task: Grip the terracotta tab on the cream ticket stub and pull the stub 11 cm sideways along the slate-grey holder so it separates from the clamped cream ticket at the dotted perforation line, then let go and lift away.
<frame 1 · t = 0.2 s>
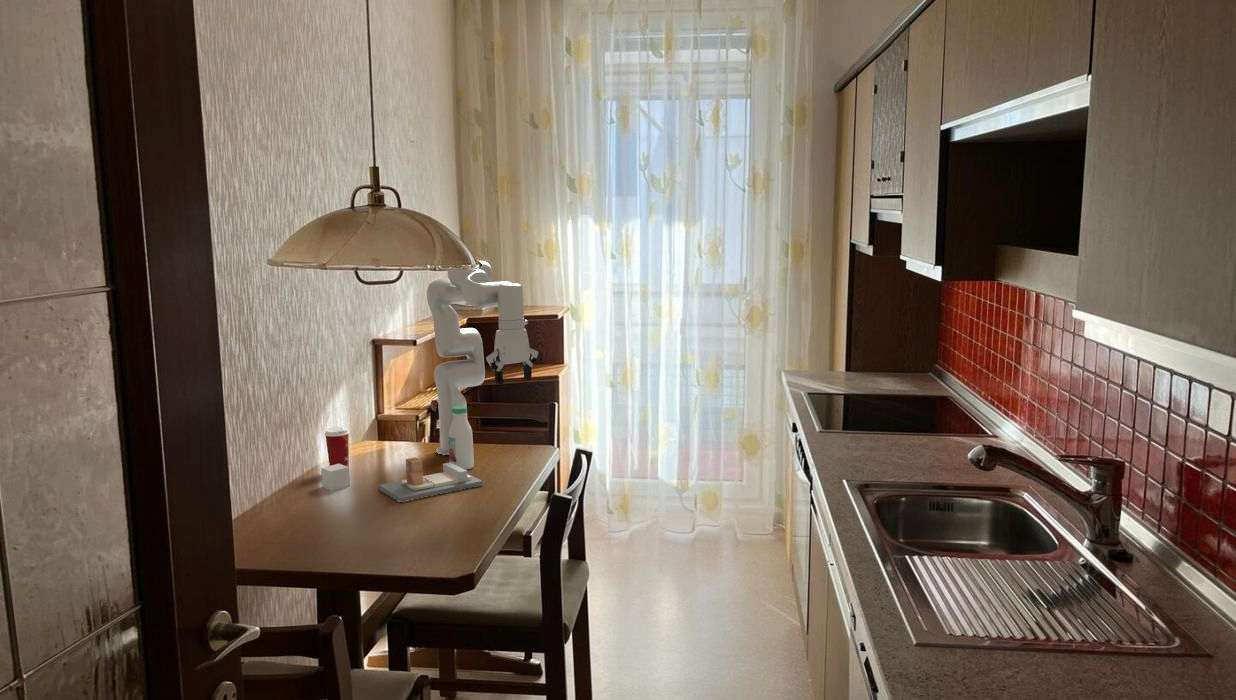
hand: (513, 381, 264), 31 cm above the table, tool pointing down, fingers open, 9 cm apart
paper cup: (339, 472, 282), on the table
white cube: (336, 487, 267), on the table
holder: (431, 487, 264), on the table
stub: (416, 472, 260), point 6 cm above the table, slide at 0.0 cm
milk bottle: (462, 468, 285), on the table
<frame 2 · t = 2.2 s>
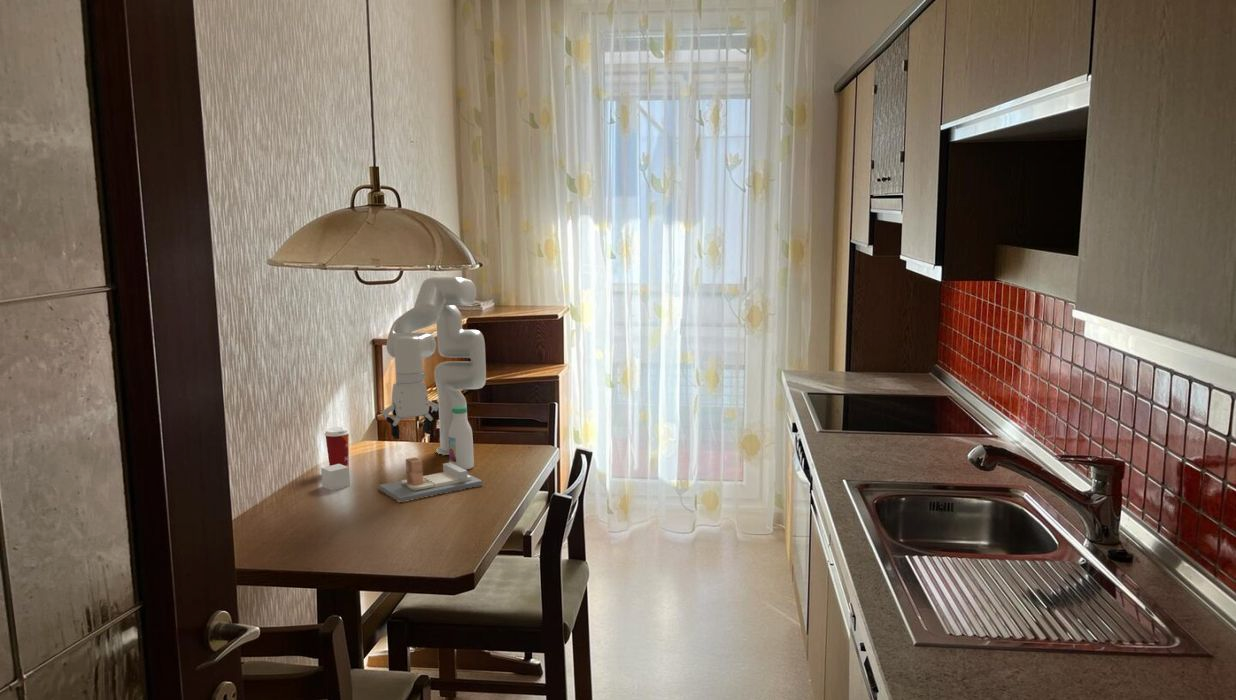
hand: (412, 435, 258), 17 cm above the table, tool pointing down, fingers open, 9 cm apart
nothing on the table moved.
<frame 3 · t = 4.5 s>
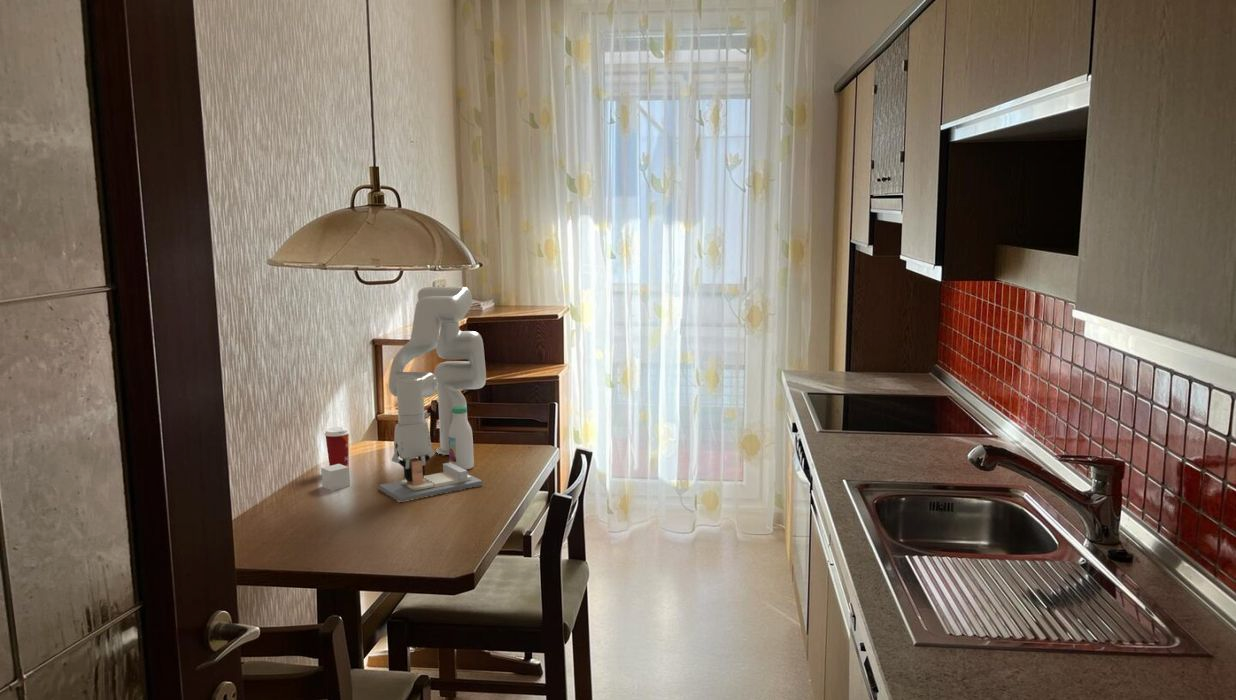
hand: (414, 478, 260), 4 cm above the table, tool pointing down, fingers closed on stub, 3 cm apart
stub: (416, 472, 260), point 6 cm above the table, slide at 0.0 cm, touching gripper
everything else where it was.
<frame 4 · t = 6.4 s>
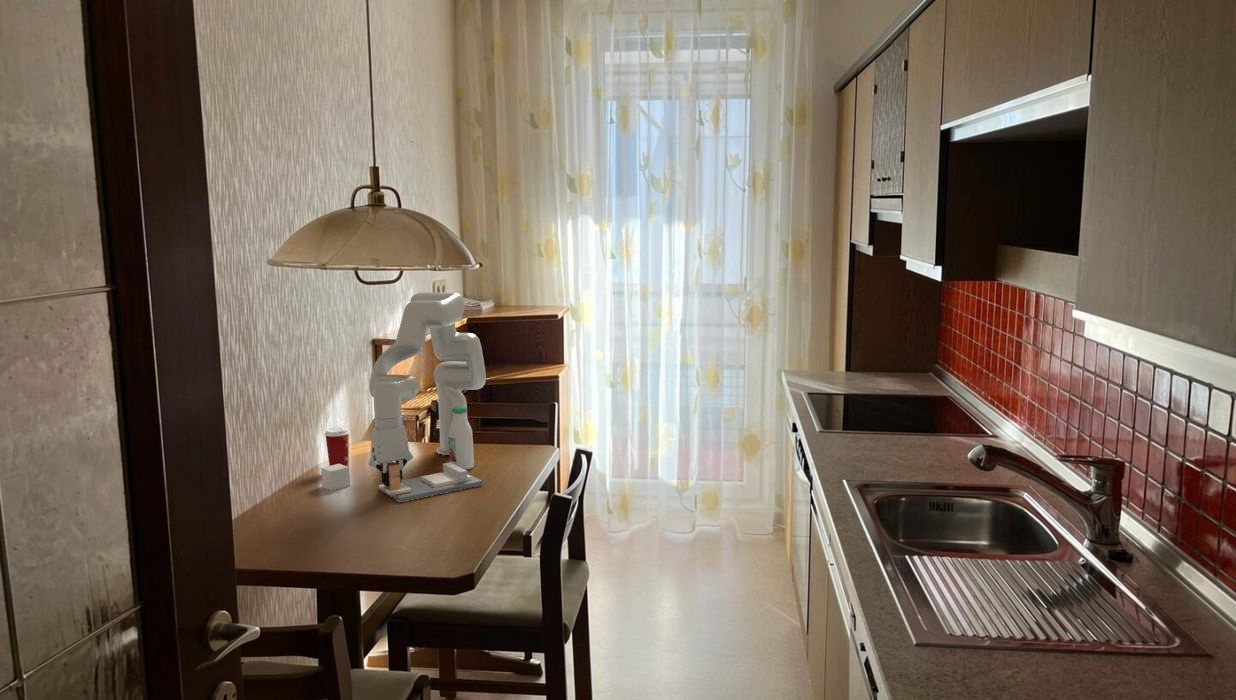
hand: (392, 483, 256), 4 cm above the table, tool pointing down, fingers closed on stub, 3 cm apart
stub: (394, 476, 256), point 6 cm above the table, slide at 7.0 cm, touching gripper
everything else where it was.
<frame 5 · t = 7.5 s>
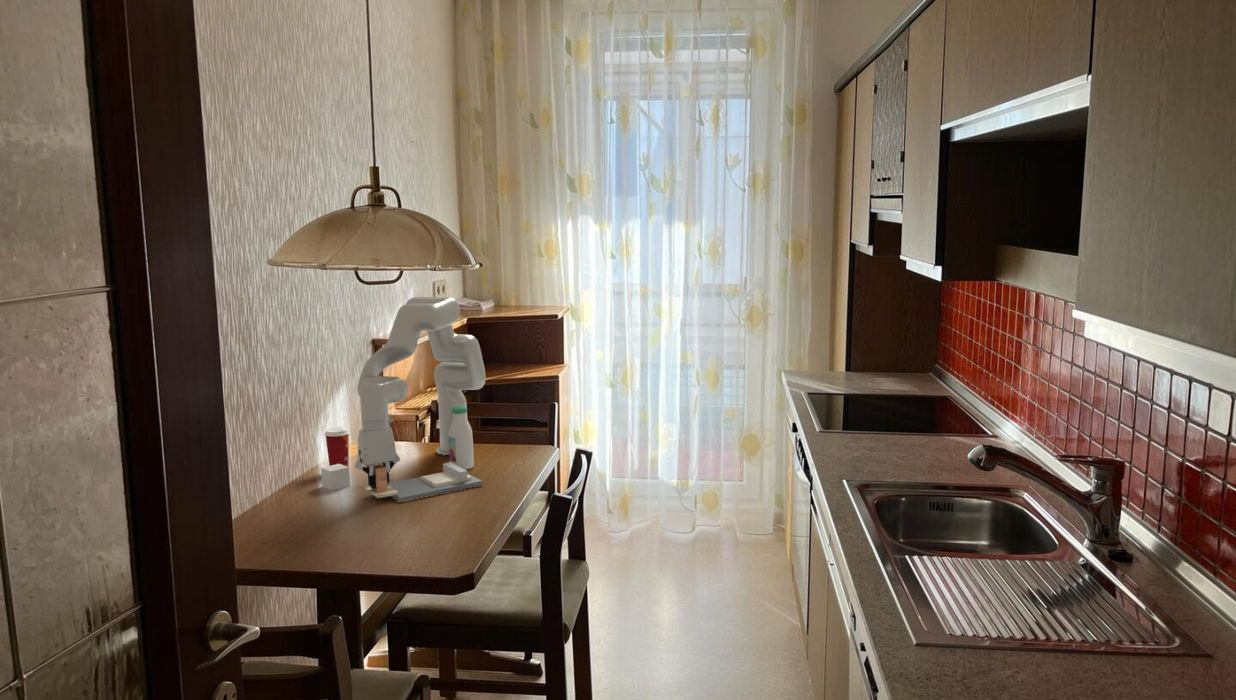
hand: (379, 485, 254), 4 cm above the table, tool pointing down, fingers closed on stub, 3 cm apart
stub: (381, 479, 254), point 6 cm above the table, slide at 10.9 cm, touching gripper
everything else where it was.
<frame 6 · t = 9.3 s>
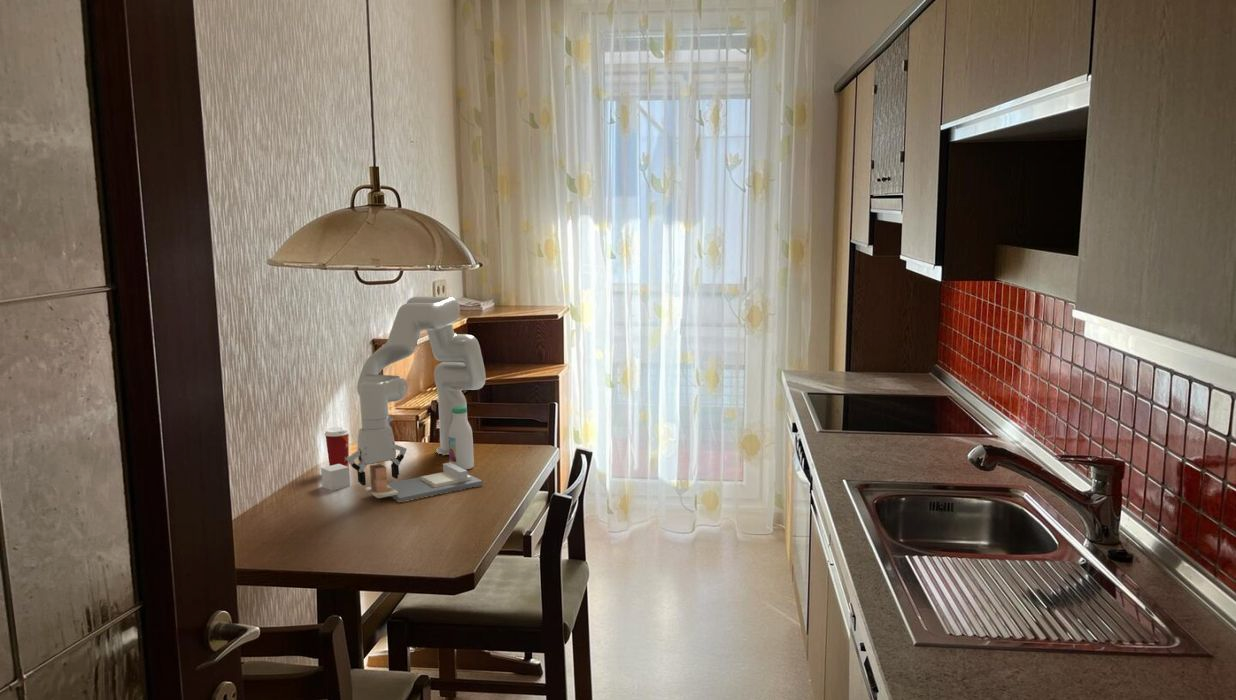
hand: (379, 481, 254), 5 cm above the table, tool pointing down, fingers open, 9 cm apart
stub: (381, 479, 254), point 6 cm above the table, slide at 11.0 cm
everything else where it was.
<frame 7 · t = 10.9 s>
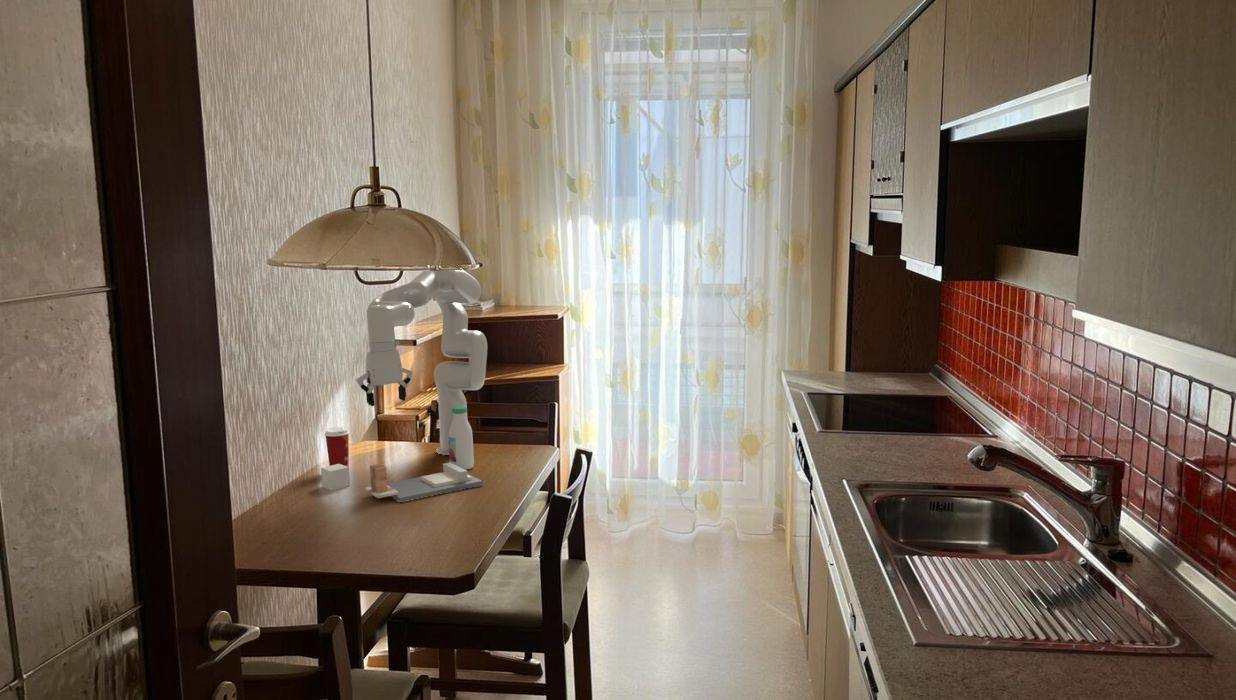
hand: (387, 402, 264), 25 cm above the table, tool pointing down, fingers open, 9 cm apart
nothing on the table moved.
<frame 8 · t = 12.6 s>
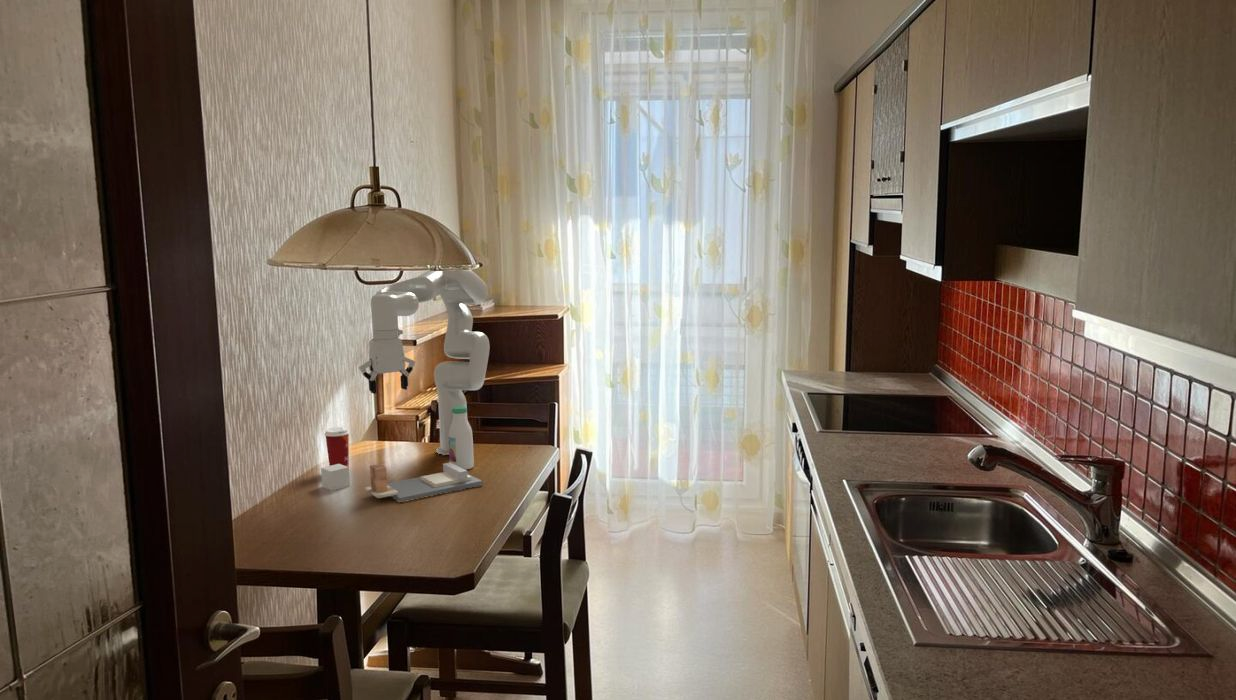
hand: (389, 390, 267), 28 cm above the table, tool pointing down, fingers open, 9 cm apart
nothing on the table moved.
at the end: stub slide at 11.0 cm; the gripper is holding nothing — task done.
